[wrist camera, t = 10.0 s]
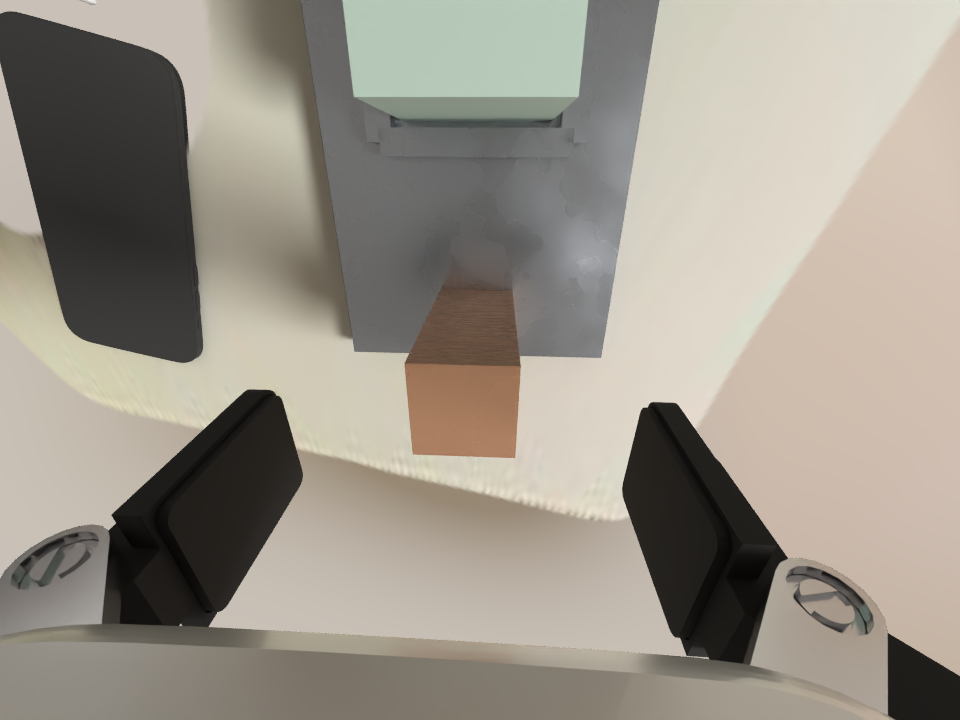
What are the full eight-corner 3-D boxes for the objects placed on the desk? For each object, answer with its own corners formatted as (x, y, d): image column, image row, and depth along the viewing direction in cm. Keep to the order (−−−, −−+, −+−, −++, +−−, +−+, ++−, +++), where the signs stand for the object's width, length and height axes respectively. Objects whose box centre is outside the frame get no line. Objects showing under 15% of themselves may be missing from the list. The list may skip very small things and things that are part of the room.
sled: (293, -120, 14) (-11, -546, 5) (670, -129, 13) (949, -610, 5) (360, 344, 21) (277, 449, 13) (596, 349, 21) (657, 463, 13)
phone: (172, 55, 16) (199, 367, 22) (187, 60, 17) (209, 361, 23) (-18, 2, 15) (66, 337, 22) (6, 9, 16) (80, 332, 23)
